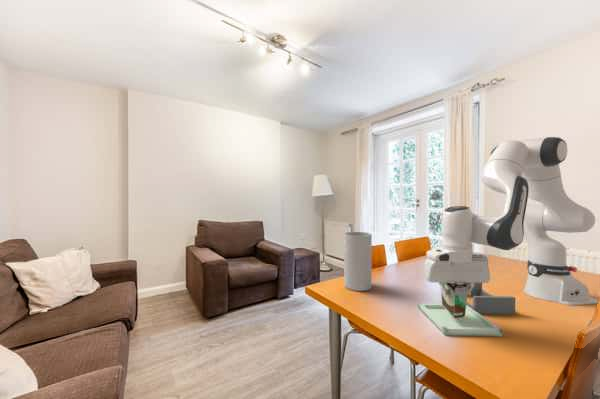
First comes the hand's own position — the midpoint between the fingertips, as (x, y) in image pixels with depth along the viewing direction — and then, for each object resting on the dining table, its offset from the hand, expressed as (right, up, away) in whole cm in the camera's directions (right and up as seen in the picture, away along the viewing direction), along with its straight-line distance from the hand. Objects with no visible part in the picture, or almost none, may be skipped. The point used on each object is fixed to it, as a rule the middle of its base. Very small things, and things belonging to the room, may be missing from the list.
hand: (456, 294), depth 80 cm
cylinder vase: (-26, -9, +31) cm, 41 cm away
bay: (+17, -9, +13) cm, 24 cm away
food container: (0, -6, 0) cm, 6 cm away
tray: (0, -9, 0) cm, 9 cm away
